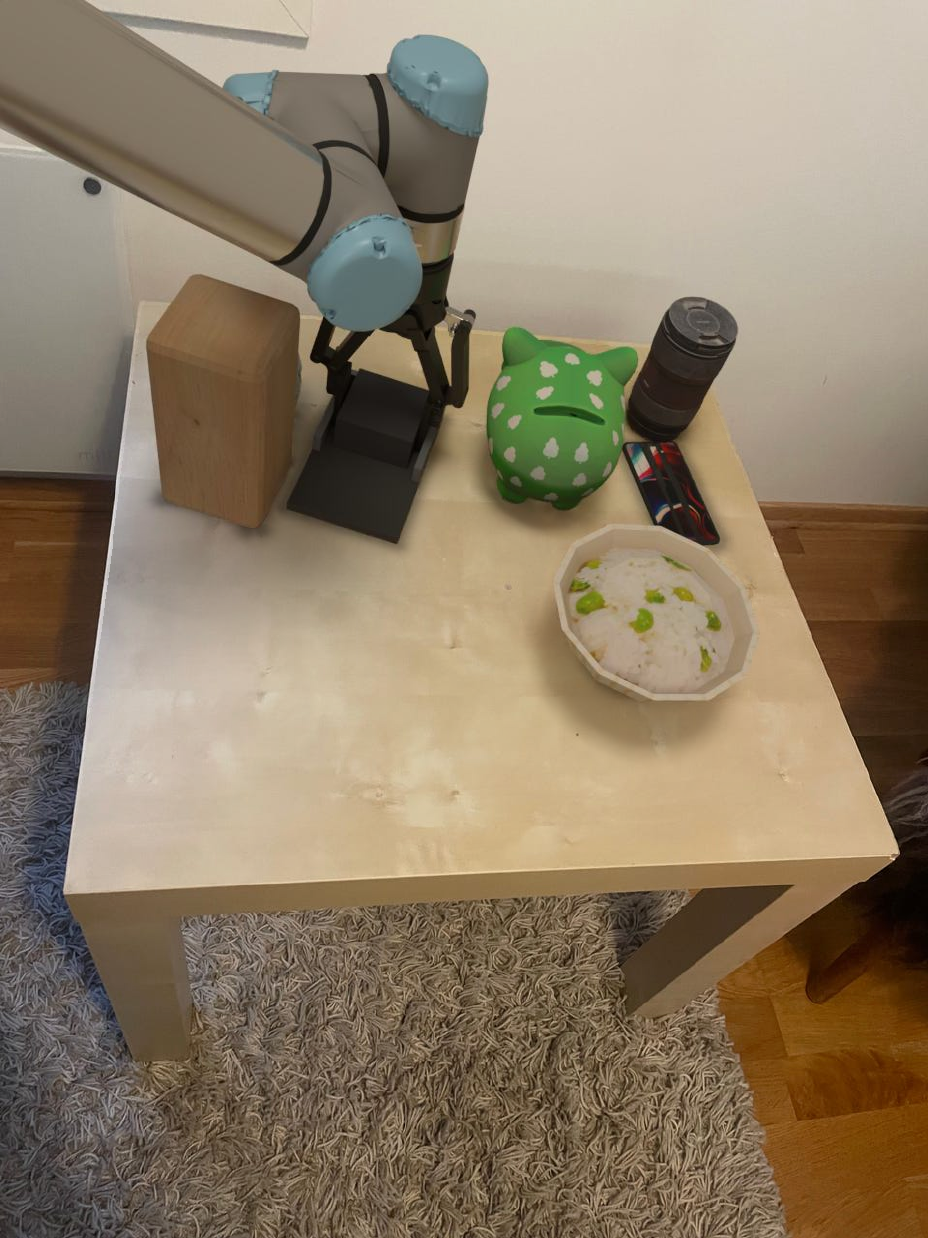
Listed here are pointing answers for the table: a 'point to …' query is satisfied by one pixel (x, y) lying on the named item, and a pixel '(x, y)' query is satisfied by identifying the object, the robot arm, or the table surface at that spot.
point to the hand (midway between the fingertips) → (380, 429)
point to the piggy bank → (556, 418)
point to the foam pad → (380, 418)
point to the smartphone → (670, 490)
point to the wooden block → (224, 398)
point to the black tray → (357, 484)
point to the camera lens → (680, 367)
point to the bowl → (654, 614)
